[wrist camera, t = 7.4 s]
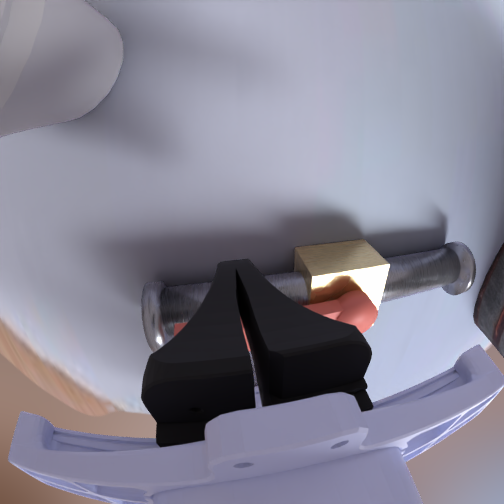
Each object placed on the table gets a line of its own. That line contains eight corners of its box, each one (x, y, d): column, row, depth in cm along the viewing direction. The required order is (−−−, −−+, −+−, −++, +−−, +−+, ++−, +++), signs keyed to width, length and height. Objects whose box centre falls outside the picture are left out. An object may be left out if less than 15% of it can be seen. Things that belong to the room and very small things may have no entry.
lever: (372, 286, 18) (382, 298, 17) (364, 319, 20) (372, 331, 18) (173, 317, 17) (171, 333, 15) (183, 350, 18) (183, 365, 17)
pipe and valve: (435, 278, 26) (463, 306, 21) (165, 323, 22) (160, 371, 18) (449, 229, 23) (483, 254, 18) (147, 264, 19) (134, 310, 15)
